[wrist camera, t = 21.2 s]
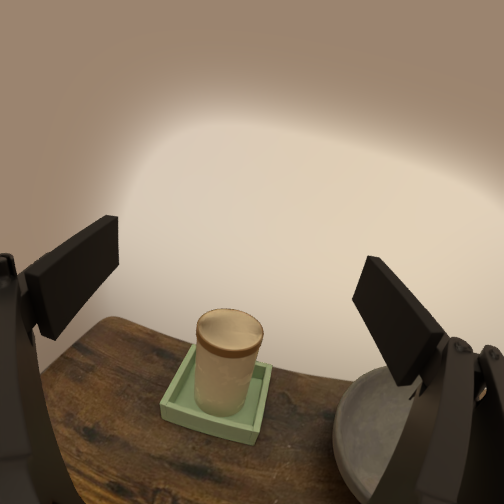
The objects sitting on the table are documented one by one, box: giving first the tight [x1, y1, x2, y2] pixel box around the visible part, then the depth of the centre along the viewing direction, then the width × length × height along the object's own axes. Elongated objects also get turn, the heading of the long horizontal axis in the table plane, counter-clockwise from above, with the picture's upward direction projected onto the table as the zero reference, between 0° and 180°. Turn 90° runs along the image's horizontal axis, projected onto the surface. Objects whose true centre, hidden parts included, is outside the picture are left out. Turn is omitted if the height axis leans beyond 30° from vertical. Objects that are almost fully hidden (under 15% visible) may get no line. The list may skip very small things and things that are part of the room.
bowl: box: [333, 366, 422, 504], centre depth 20 cm, size 21×21×8 cm
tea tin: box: [194, 309, 264, 417], centre depth 27 cm, size 6×6×11 cm
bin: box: [160, 344, 272, 445], centre depth 29 cm, size 10×10×3 cm
